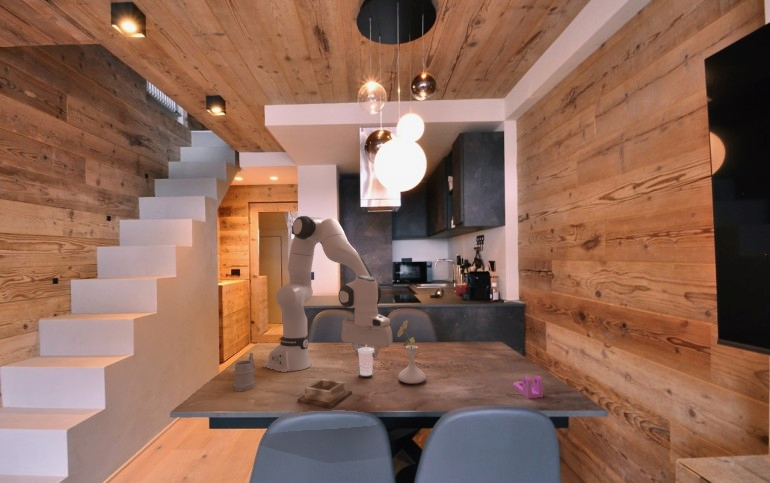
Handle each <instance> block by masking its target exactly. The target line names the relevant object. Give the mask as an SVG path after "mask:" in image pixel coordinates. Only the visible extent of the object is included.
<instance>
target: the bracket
mask: <svg viewBox="0 0 770 483" xmlns="http://www.w3.org/2000/svg"><path fill="white" fill-rule="evenodd" d="M532 382H533V383H532ZM532 384H533V386H532ZM522 386H523V387H522ZM543 387H544V386H543V379H542V377H541V376H540V375H534V376H533V378H532V380H531V378H530V376H523V377H522V381H514V382H513V388H514V389H515V388H516V389H515V390H517V391H518V392H520V393H521V395H523V396H525V398H527V399H537V397H541V398H544V393H543V392H544V390H543V389H544V388H543Z"/></svg>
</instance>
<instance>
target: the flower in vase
mask: <svg viewBox="0 0 770 483" xmlns="http://www.w3.org/2000/svg"><path fill="white" fill-rule="evenodd" d="M408 326H409V321H408V320H404V321H403V323H402V326H399V330H398V331H397V333H396V337H398V338H400V337H401V336H402V334H404V332H405V334H406V336H407V339H406V340H405V341H404V343H403V345H402V346H403V347H405V349H406V350H407V354H408V365H407V366H406V367H405V368H404V369H403V370H401V371H400V373H398V376H397V378H398V380H399V381H400V382H403V383H405V384H410V385H411V384H420V383H423V382H425V381H426V379H427V376H426V374H425V372H424V371H422V370H421V369H420V368H419V367H417V365H416V364H415V363H416V362H415V357H416V352H417V349H418V347H419V346H417V345H413V344H414V343H416V340H415V338H414V336H412V337H410V338H409V335H408V333H407V328H408ZM408 344H409V345H408Z"/></svg>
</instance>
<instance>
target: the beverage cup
mask: <svg viewBox="0 0 770 483" xmlns="http://www.w3.org/2000/svg"><path fill="white" fill-rule="evenodd" d="M358 352H359V355H358V366H359V365H360V374H361V375H364V376H367V375H371V374H372V369H374V358H373V357H372V353H373V352H375V347H372V348H370V347H367V345H366V347H363V348H359V349H358Z"/></svg>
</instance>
